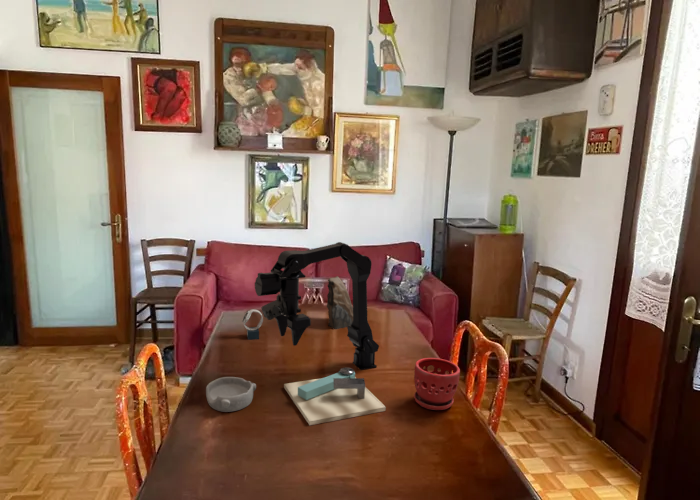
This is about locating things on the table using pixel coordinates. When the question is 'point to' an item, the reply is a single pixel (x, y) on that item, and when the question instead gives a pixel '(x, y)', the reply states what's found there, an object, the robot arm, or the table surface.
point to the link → (320, 386)
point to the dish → (229, 393)
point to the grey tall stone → (339, 304)
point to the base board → (333, 404)
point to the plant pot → (435, 383)
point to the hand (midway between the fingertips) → (288, 340)
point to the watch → (252, 331)
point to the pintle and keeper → (350, 382)
